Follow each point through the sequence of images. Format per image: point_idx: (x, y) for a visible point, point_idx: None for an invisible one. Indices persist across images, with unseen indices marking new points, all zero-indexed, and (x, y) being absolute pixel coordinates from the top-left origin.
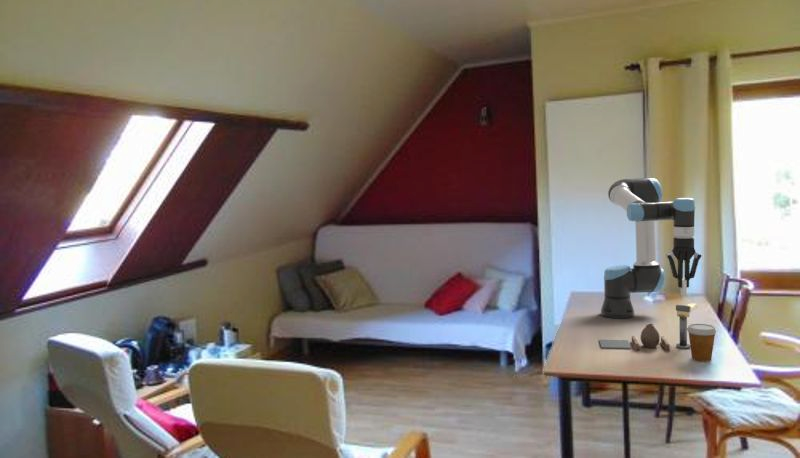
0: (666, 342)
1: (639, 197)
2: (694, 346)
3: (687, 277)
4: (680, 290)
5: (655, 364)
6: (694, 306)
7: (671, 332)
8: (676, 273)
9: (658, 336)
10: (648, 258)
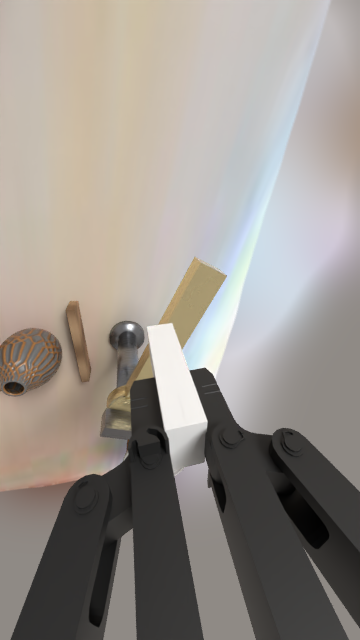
0: (81, 365)
1: None
2: None
3: (223, 485)
4: (150, 343)
5: (59, 442)
6: (201, 312)
7: (114, 154)
8: (103, 595)
9: (55, 372)
10: None
